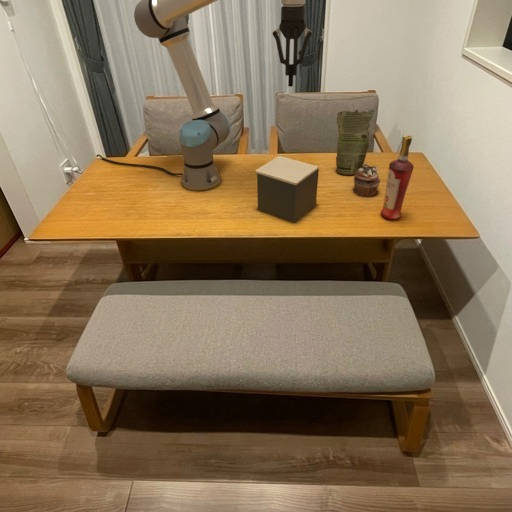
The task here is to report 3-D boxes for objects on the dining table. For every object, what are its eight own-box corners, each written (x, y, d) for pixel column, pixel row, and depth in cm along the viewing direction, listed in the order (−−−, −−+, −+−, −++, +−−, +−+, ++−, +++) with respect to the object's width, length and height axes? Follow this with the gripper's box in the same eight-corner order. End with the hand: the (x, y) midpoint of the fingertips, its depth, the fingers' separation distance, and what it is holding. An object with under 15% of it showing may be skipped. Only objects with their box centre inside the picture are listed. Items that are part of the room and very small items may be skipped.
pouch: (329, 170, 163) (335, 110, 147) (346, 161, 169) (354, 103, 153) (350, 179, 156) (359, 116, 140) (368, 169, 162) (378, 109, 147)
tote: (257, 209, 140) (256, 173, 131) (280, 193, 149) (281, 158, 140) (294, 223, 132) (295, 185, 123) (315, 205, 141) (318, 168, 132)
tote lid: (255, 172, 131) (254, 170, 131) (279, 157, 140) (279, 155, 140) (295, 185, 123) (295, 183, 123) (318, 168, 132) (319, 166, 132)
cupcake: (348, 194, 146) (352, 169, 140) (356, 183, 153) (360, 159, 147) (373, 199, 143) (378, 175, 136) (380, 188, 149) (385, 164, 143)
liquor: (375, 212, 136) (390, 134, 118) (393, 208, 137) (410, 131, 120) (387, 223, 130) (404, 143, 113) (405, 219, 132) (425, 139, 115)
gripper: (314, 3, 122) (309, 82, 137) (273, 4, 124) (273, 82, 139) (314, 6, 117) (309, 88, 131) (271, 6, 118) (271, 88, 133)
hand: (290, 85), depth 135 cm, fingers closed
